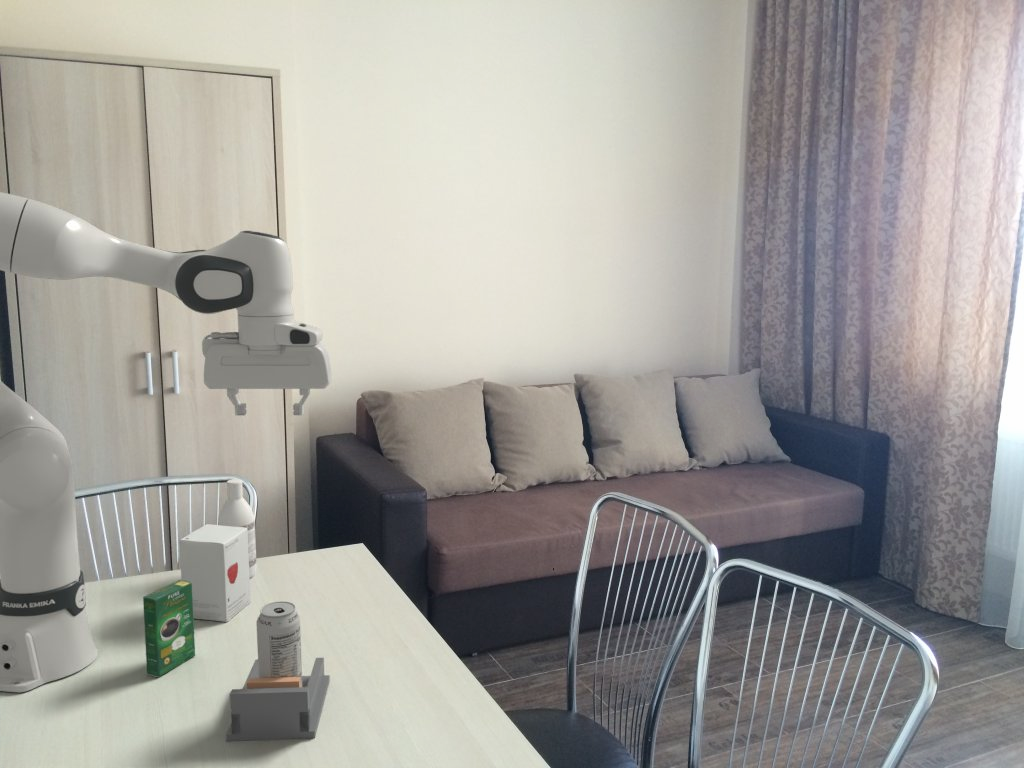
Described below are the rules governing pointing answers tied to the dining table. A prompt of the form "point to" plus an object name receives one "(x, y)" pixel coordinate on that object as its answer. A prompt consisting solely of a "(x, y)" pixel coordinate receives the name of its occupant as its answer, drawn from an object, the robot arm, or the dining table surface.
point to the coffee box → (169, 627)
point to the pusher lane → (278, 708)
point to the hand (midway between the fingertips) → (269, 414)
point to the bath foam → (240, 518)
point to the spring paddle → (274, 682)
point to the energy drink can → (279, 641)
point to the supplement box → (216, 570)
